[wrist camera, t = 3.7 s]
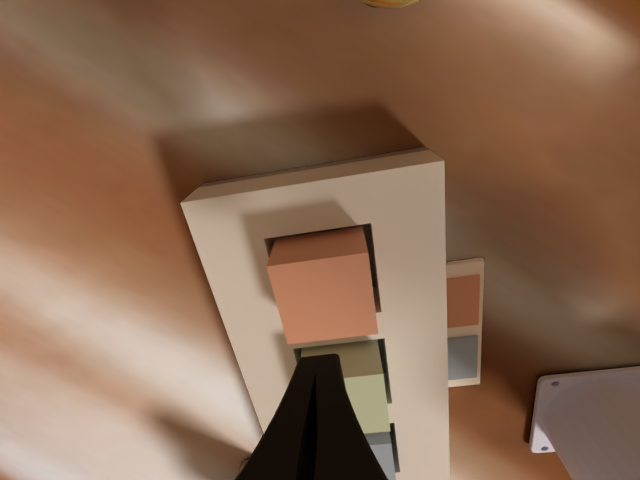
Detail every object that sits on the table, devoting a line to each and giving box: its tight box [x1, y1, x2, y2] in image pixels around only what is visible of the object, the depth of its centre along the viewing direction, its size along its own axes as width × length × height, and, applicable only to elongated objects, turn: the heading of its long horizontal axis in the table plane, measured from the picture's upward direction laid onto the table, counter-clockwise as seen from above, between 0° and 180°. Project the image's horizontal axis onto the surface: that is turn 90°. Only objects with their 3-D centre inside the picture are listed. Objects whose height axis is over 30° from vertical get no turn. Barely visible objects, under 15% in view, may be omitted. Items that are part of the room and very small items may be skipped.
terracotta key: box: [267, 226, 378, 344], centre depth 17 cm, size 4×4×3 cm
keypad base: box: [180, 147, 450, 480], centre depth 22 cm, size 12×24×3 cm, turn 10°
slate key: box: [364, 431, 396, 480], centre depth 24 cm, size 4×4×3 cm
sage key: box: [301, 339, 390, 434], centre depth 20 cm, size 4×4×3 cm
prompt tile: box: [446, 257, 484, 387], centre depth 22 cm, size 3×10×1 cm, turn 10°
